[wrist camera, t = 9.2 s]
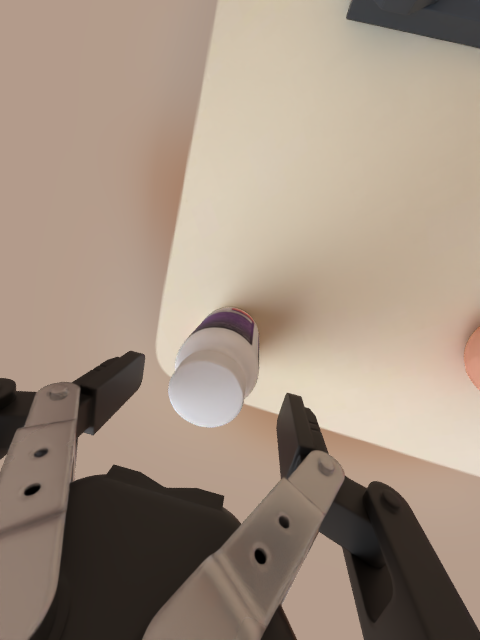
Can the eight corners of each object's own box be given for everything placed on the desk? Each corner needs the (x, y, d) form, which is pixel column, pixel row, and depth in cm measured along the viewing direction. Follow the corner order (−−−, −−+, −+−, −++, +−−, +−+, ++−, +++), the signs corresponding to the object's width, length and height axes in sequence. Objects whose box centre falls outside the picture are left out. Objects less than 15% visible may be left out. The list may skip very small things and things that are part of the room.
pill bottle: (191, 320, 21) (134, 370, 11) (243, 296, 20) (228, 328, 10) (218, 368, 22) (186, 451, 12) (268, 348, 21) (275, 421, 11)
